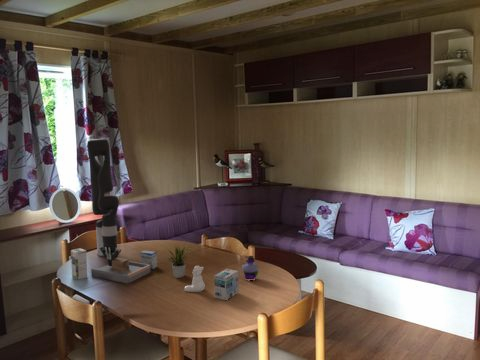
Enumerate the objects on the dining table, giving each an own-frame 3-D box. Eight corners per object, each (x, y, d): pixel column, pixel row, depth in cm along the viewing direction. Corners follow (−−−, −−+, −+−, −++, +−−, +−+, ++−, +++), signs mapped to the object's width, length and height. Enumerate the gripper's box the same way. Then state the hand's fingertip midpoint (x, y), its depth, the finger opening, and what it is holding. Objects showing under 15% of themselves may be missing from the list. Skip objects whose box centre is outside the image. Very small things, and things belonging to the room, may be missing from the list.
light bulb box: (226, 301, 193) (226, 277, 191) (214, 298, 196) (213, 275, 195) (239, 293, 202) (239, 270, 200) (227, 290, 205) (226, 268, 204)
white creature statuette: (196, 284, 212) (196, 261, 211) (210, 288, 207) (210, 264, 206) (183, 291, 205) (182, 266, 203) (197, 295, 200) (196, 269, 198)
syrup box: (71, 277, 223) (70, 250, 221) (82, 274, 228) (81, 247, 226) (77, 280, 219) (75, 252, 217) (88, 277, 224) (86, 249, 222)
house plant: (200, 275, 224) (200, 245, 222) (179, 283, 214) (178, 251, 212) (182, 269, 234) (182, 240, 232) (162, 276, 224) (161, 245, 222)
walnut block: (118, 266, 232) (118, 257, 231) (129, 268, 229) (128, 259, 228) (112, 269, 227) (111, 260, 227) (122, 271, 224) (122, 262, 224)
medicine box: (140, 267, 238) (139, 252, 237) (145, 265, 242) (144, 249, 241) (152, 269, 235) (152, 253, 234) (157, 266, 239) (156, 251, 238)
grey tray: (116, 265, 241) (115, 258, 241) (150, 272, 230) (150, 264, 230) (91, 276, 225) (91, 268, 225) (127, 283, 215) (127, 275, 214)
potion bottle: (257, 283, 214) (257, 259, 212) (240, 281, 215) (240, 258, 214) (260, 276, 222) (260, 254, 221) (243, 275, 224) (243, 253, 222)
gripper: (124, 233, 228) (125, 265, 231) (105, 230, 234) (106, 261, 237) (114, 237, 222) (115, 269, 224) (94, 233, 228) (96, 265, 230)
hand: (111, 265), depth 230 cm, fingers closed
